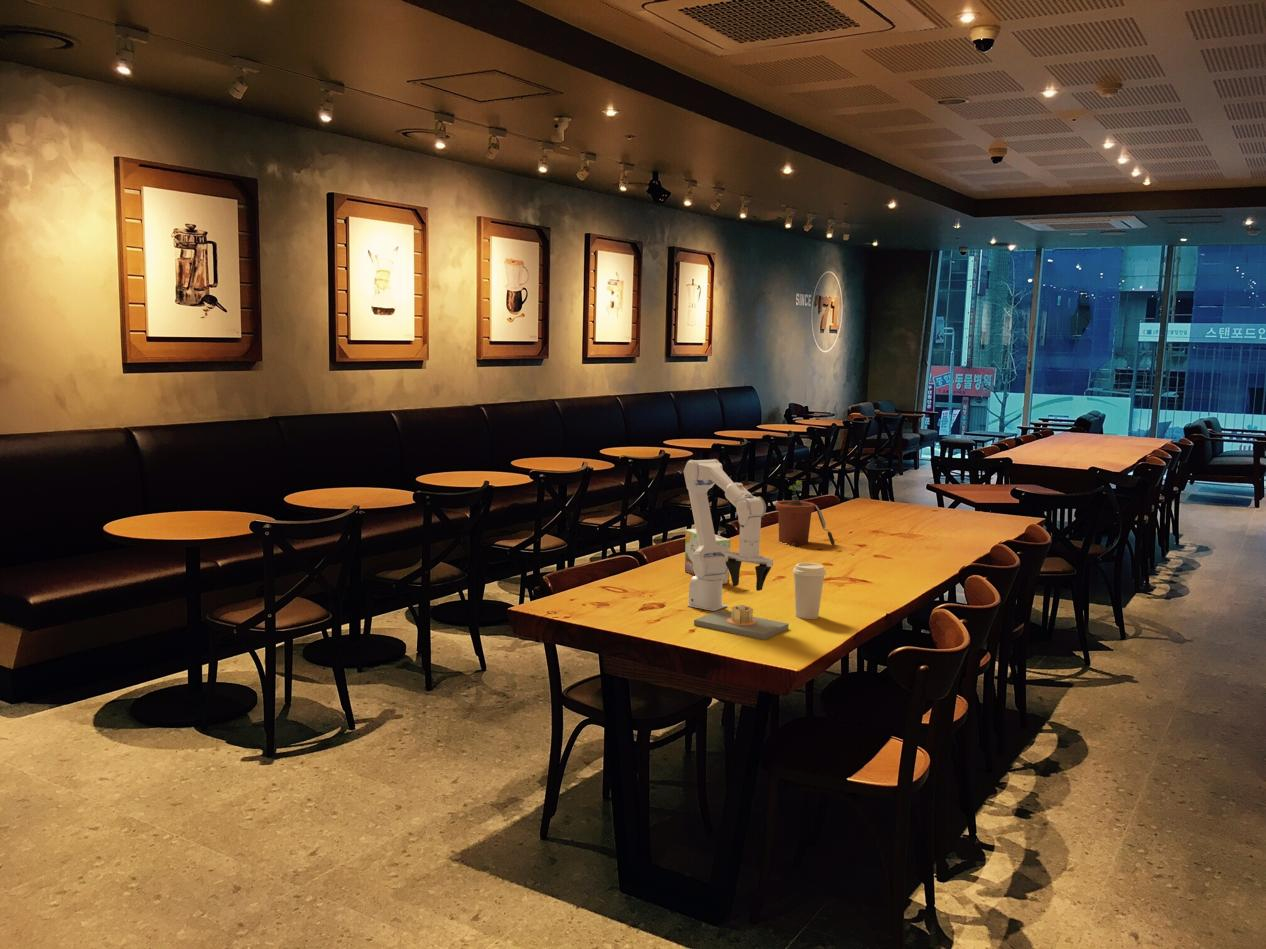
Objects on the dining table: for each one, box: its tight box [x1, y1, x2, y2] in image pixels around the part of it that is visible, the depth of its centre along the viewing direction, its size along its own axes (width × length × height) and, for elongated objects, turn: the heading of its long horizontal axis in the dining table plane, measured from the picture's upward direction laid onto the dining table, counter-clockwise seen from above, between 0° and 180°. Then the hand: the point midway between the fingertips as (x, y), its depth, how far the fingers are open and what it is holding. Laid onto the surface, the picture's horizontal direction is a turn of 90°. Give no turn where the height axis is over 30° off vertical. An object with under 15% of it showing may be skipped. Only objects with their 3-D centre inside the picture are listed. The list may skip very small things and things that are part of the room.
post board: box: [693, 604, 789, 641], centre depth 279 cm, size 22×14×6 cm, turn 55°
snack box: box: [684, 528, 731, 585], centre depth 338 cm, size 21×6×15 cm, turn 27°
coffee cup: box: [792, 562, 827, 620], centre depth 292 cm, size 10×10×15 cm
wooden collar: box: [730, 605, 754, 624], centre depth 279 cm, size 6×6×4 cm
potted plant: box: [775, 480, 836, 547], centre depth 404 cm, size 18×22×25 cm
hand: (747, 587), depth 284 cm, fingers open, 7 cm apart
